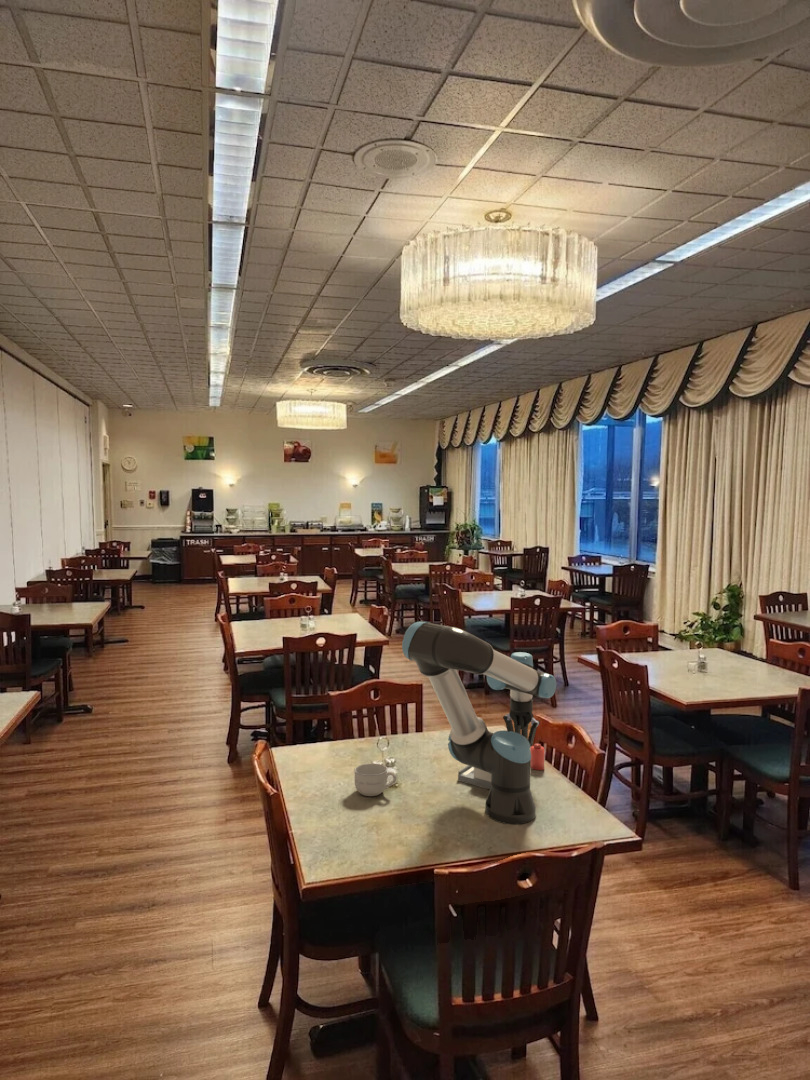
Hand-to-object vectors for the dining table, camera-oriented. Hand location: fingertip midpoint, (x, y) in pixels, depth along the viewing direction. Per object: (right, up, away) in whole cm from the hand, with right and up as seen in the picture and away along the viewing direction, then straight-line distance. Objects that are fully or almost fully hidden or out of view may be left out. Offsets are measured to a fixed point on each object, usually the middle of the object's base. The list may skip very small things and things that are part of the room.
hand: (520, 765), depth 224 cm
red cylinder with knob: (+7, -3, +7) cm, 11 cm away
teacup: (-49, -5, -13) cm, 51 cm away
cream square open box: (-11, -2, -5) cm, 12 cm away
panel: (-8, -3, +3) cm, 9 cm away
